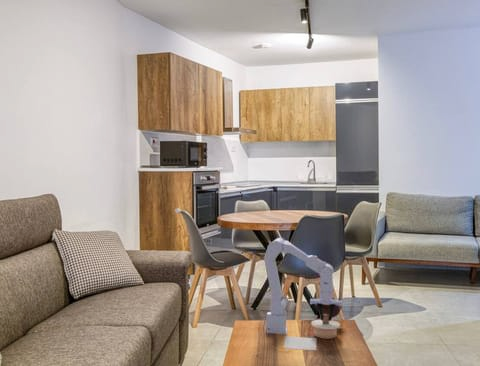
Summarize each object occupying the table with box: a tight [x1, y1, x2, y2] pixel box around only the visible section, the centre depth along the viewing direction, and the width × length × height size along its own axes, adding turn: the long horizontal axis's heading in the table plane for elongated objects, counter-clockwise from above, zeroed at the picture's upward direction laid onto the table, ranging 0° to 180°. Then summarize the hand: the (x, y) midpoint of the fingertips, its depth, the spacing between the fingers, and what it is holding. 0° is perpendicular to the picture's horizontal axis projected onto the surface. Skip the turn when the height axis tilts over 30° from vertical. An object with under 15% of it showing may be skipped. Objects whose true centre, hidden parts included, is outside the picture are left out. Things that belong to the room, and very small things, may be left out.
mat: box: [283, 335, 318, 351], centre depth 219 cm, size 14×14×1 cm
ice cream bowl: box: [322, 296, 342, 320], centre depth 243 cm, size 11×11×15 cm
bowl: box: [314, 327, 338, 340], centre depth 228 cm, size 10×10×5 cm
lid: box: [311, 314, 341, 330], centre depth 227 cm, size 13×13×5 cm
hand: (325, 320), depth 228 cm, fingers closed on lid, 3 cm apart
